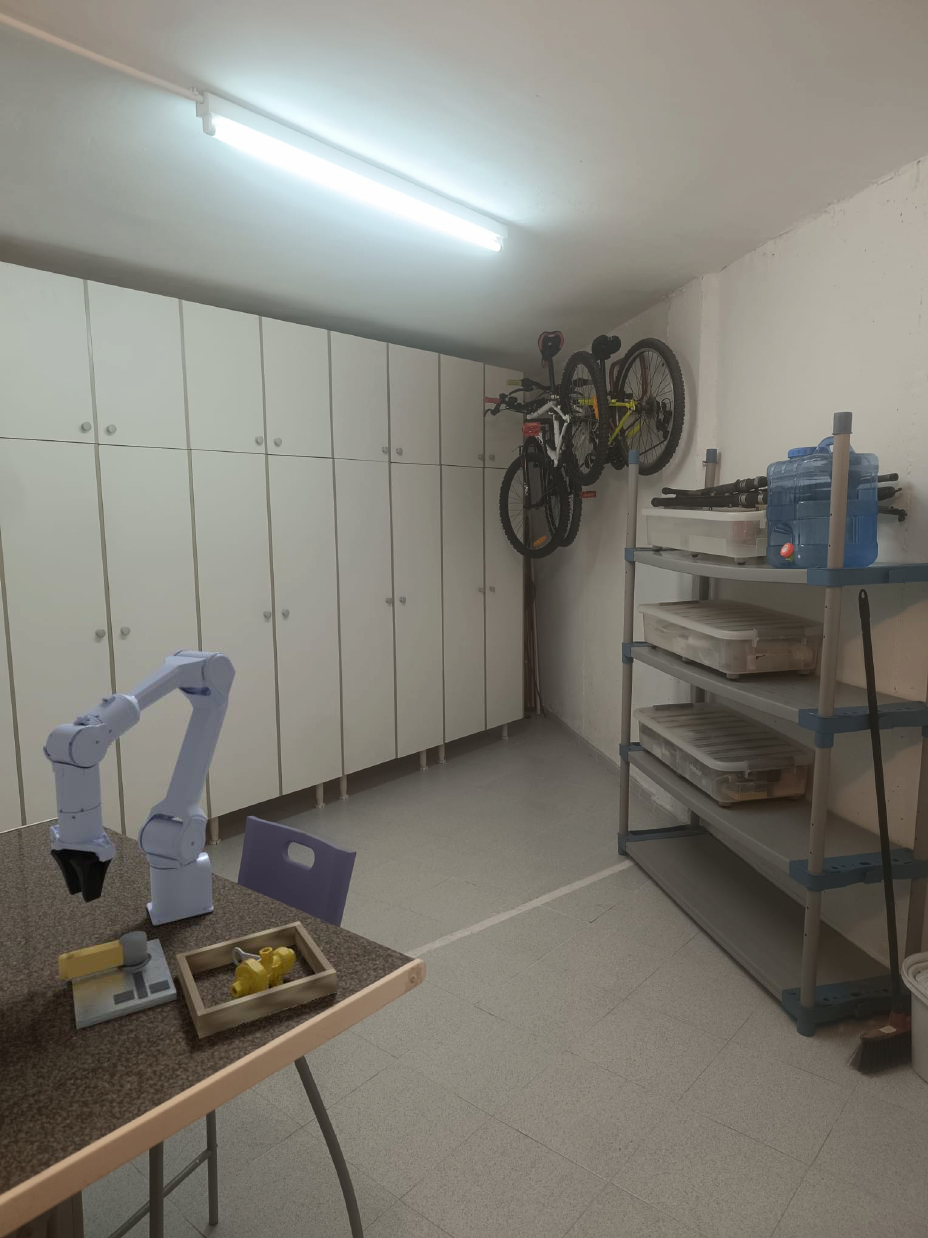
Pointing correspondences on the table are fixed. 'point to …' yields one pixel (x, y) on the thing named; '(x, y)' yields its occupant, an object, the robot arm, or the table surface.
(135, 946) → the handle
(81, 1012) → the base
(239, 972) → the pressure relief valve
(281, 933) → the parts frame
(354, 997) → the table surface
